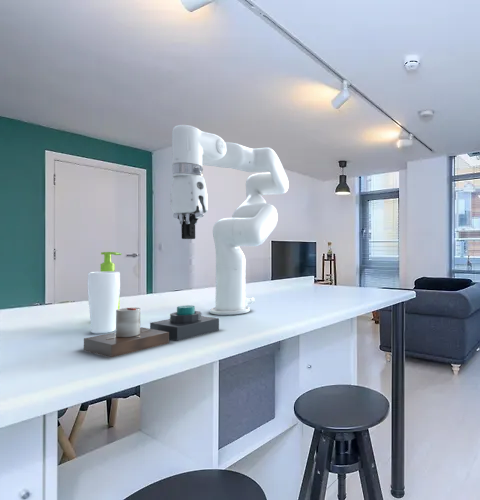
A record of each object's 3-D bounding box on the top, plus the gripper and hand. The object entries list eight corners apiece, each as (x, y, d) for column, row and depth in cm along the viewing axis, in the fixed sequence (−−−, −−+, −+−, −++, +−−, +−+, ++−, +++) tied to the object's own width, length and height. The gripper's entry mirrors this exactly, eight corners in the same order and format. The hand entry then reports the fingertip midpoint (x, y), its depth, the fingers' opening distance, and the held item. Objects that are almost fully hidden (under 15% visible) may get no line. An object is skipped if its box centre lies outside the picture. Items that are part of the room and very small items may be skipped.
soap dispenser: (109, 323, 97) (110, 252, 97) (89, 322, 98) (90, 251, 98) (127, 319, 103) (127, 251, 103) (107, 318, 104) (108, 251, 104)
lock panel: (141, 337, 82) (141, 326, 82) (169, 343, 77) (169, 331, 77) (83, 350, 71) (83, 337, 71) (111, 357, 67) (111, 344, 67)
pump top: (187, 312, 89) (187, 304, 89) (198, 314, 88) (198, 306, 88) (173, 315, 86) (173, 307, 86) (184, 316, 84) (184, 308, 84)
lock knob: (111, 335, 73) (111, 308, 73) (131, 331, 77) (132, 305, 77) (124, 338, 71) (124, 310, 71) (144, 333, 75) (145, 307, 75)
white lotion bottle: (94, 336, 83) (95, 273, 83) (81, 332, 86) (82, 272, 86) (125, 330, 89) (125, 272, 89) (112, 327, 92) (112, 271, 92)
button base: (192, 326, 94) (192, 308, 94) (219, 330, 90) (219, 311, 90) (149, 335, 84) (150, 315, 84) (177, 341, 79) (177, 319, 79)
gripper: (218, 172, 96) (218, 239, 97) (181, 177, 103) (182, 239, 103) (195, 167, 89) (196, 238, 90) (157, 172, 96) (158, 238, 96)
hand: (188, 238), depth 97 cm, fingers closed
